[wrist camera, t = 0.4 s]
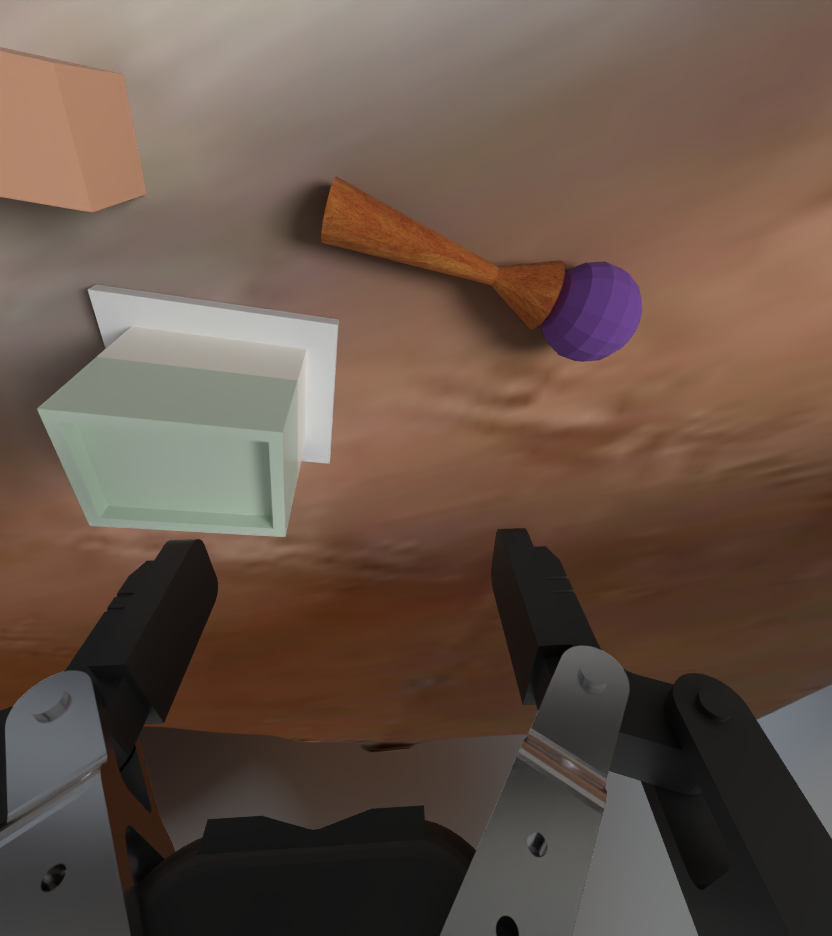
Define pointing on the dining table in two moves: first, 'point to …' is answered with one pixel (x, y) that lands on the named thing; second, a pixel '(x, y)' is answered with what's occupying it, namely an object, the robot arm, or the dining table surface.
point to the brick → (65, 134)
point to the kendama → (498, 276)
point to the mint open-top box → (195, 413)
